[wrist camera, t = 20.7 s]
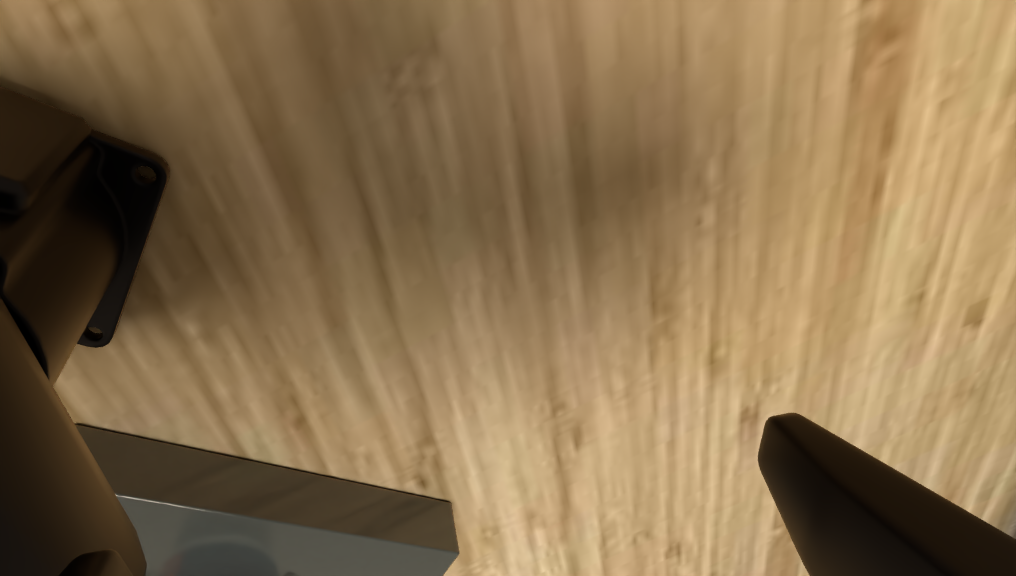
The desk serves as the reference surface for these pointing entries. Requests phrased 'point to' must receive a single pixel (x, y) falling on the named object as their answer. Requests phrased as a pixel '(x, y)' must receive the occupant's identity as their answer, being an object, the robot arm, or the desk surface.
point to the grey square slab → (266, 516)
